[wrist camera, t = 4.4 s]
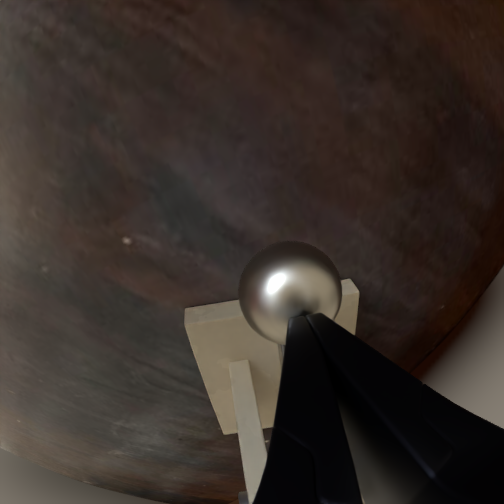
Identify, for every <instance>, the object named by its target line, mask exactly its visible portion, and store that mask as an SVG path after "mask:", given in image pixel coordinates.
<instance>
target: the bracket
mask: <svg viewBox="0 0 504 504" xmlns="http://www.w3.org/2000/svg"><path fill="white" fill-rule="evenodd" d="M341 284H342V302H341V306H340V309H339V312H338V314H337V316H336V318H335V320H334V322H336V323H337V324H339V325H340V326H342V327H343V328H345V329H346V330H347V331H349V332H350V333H352V334H353V335H355V330H356V321H357V312H358V303H359V290H358V289H357V288H356V286H355V285H354V283H353V282H352V280H351V279H345V280H341ZM184 325H185V329H186V332H187V335H188V338H189V341H190V344H191V347H192V350H193V353H194V356H195V359H196V362H197V364H198V367H199V370H200V373H201V376H202V379H203V381H204V384H205V387H206V390H207V392H208V395H209V398H210V400H211V403H212V406H213V408H214V411H215V414H216V416H217V419H218V421H219V424H220V426H221V429H222V431H223V434H224V435H226V434H233V433H238V437H239V444H240V450H241V457H242V463H243V470H244V476H245V482H246V488H247V491H244V492H239V504H252V503H253V500H254V498H255V495H256V492H257V490H258V487H259V484H260V481H261V478H262V474H263V471H264V468H265V465H266V460H267V456H268V454H267V449H266V444H265V440H264V435H263V430H262V429H263V428H269V427H273V424H274V418H275V411H276V405H277V398H278V391H279V385H280V378H281V366H280V359H279V352H278V345H277V343H274V342H271V341H269V340H267V339H265V338H263V337H261V336H260V335H259V334H257V333H256V332H255V331H254V330H253V329H252V328H251V327H250V326H249V324H248V323H247V321H246V320H245V318H244V316H243V314H242V311H241V309H240V305H239V300H233V301H228V302H222V303H216V304H209V305H203V306H197V307H191V308H185V319H184ZM361 496H362V495H361ZM362 501H363V504H365V502H364V500H363V497H362Z"/></svg>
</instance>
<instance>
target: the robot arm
mask: <svg viewBox="0 0 504 504" xmlns="http://www.w3.org/2000/svg"><path fill="white" fill-rule="evenodd" d="M361 495H362V496H361ZM362 497H363V500H364V502H365V504H504V429H503V428H500V427H499V426H497V425H494V424H493V423H491V422H489V421H487V420H485V419H483V418H481V417H479V416H477V415H475V414H473V413H471V412H469V411H468V410H466V409H464V408H462V407H460V406H458V405H457V404H455V403H453V402H452V401H450V400H448V399H447V398H445V397H444V396H442V395H441V394H439V393H438V392H436V391H434V390H433V389H432V388H430V387H428V386H427V385H426V384H423V385H422V382H421V381H420V380H418V379H417V378H415V377H414V376H412V375H411V374H410V373H408V372H407V371H405V370H404V369H402V368H401V367H399V366H398V365H396V364H395V363H394V362H392V361H391V360H389V359H388V358H386V357H385V356H383V355H382V354H381V353H379V352H378V351H376V350H375V349H373V348H372V347H370V346H369V345H368V344H366V343H365V342H363V341H362V340H360V339H359V338H357V337H356V336H355V335H353V334H352V333H350V332H349V331H347V330H346V329H345V328H343V327H342V326H340V325H339V324H337V323H336V322H334V321H333V320H332V319H330V318H329V317H327V316H326V315H324V314H323V313H320V312H318V313H314V314H309V315H306V316H305V317H304V316H299V317H294V318H290V319H289V320H288V326H287V333H286V341H285V349H284V356H283V363H282V371H281V378H280V385H279V391H278V398H277V405H276V411H275V418H274V424H273V430H272V435H271V441H270V447H269V451H268V456H267V460H266V465H265V468H264V471H263V474H262V478H261V481H260V484H259V487H258V490H257V492H256V495H255V498H254V500H253V503H252V504H363V501H362Z"/></svg>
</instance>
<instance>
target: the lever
mask: <svg viewBox="0 0 504 504" xmlns="http://www.w3.org/2000/svg"><path fill="white" fill-rule="evenodd" d="M238 298H239V305H240V309H241V311H242V314H243V316H244V318H245V320H246V321H247V323H248V324H249V326H250V327H251V328H252V329H253V330H254V331H255V332H256V333H257V334H259V335H260V336H261V337H263V338H265V339H267V340H269V341H271V342H274V343H277V345H278V352H279V359H280V366H281V371H282V363H283V356H284V349H285V341H286V333H287V326H288V320H289V319H290V318H294V317H299V316H304V317H305V316H306V315H309V314H314V313H318V312H320V313H323V314H324V315H326V316H327V317H329V318H330V319H332V320H333V321H334V320H335V318H336V316H337V314H338V312H339V309H340V306H341V302H342V284H341V279H340V276H339V273H338V271H337V269H336V267H335V266H334V264H333V262H332V261H331V260H330V259H329V257H328V256H327V255H325V254H324V253H323V252H322V251H320V250H319V249H317V248H316V247H314V246H312V245H309V244H306V243H303V242H297V241H284V242H279V243H275V244H272V245H269V246H267V247H266V248H264V249H262V250H261V251H259V252H258V253H257V254H256V255H255V256H254V257H253V258H252V259H251V260H250V261H249V262H248V264H247V265H246V267H245V269H244V271H243V273H242V275H241V279H240V282H239V289H238Z"/></svg>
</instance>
